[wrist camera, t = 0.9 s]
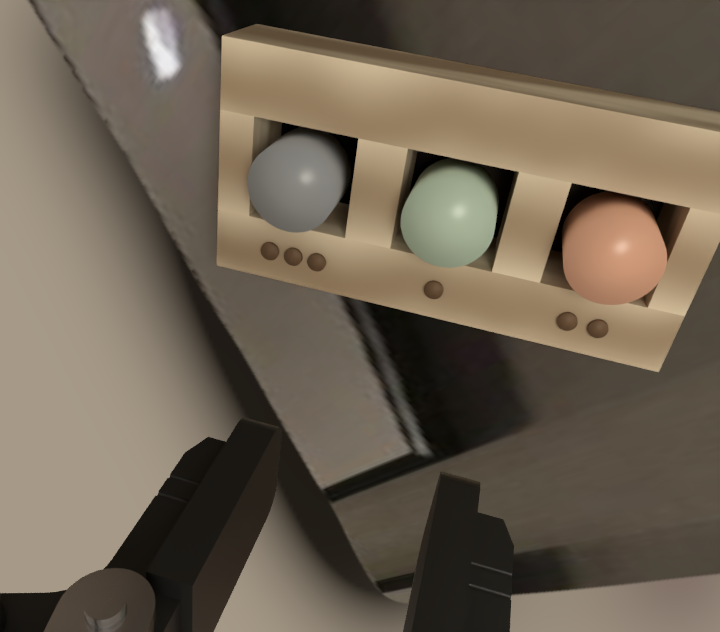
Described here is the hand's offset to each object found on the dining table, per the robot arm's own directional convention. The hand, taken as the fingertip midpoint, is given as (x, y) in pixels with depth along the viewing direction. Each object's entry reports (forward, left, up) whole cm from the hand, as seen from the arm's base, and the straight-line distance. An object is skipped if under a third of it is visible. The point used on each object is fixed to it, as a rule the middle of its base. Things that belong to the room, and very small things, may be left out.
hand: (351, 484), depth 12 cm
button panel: (+2, 0, -23) cm, 23 cm away
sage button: (+2, 0, -21) cm, 21 cm away
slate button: (+2, -7, -21) cm, 22 cm away
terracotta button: (+2, +7, -21) cm, 22 cm away
